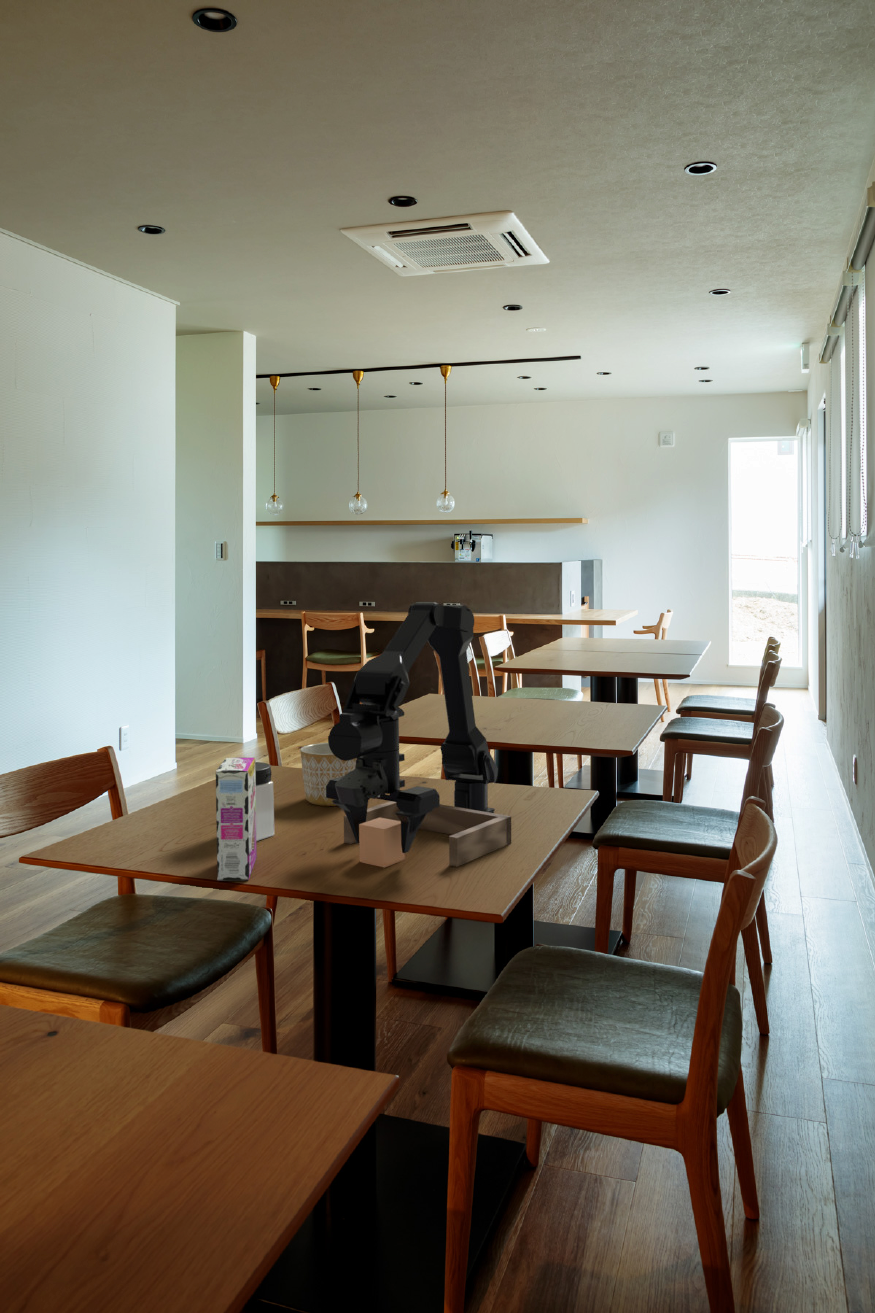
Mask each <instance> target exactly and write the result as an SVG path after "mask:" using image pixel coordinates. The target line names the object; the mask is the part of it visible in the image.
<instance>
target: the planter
mask: <svg viewBox="0 0 875 1313" xmlns="http://www.w3.org/2000/svg"><path fill="white" fill-rule="evenodd" d="M299 753H300V760H301V761H300V762H301V769H302V777H303V786H304V796H305V798H306V801H307V802H308V803H310V804H313V805H316V806H321V807H339V806H338V805H336V804H333V803H332V800H335V799H330V798H326V786H327V784H328V782H329V780H331V779H335V778H338V777H342V776H345V775H346V774H347V773H349V772H350V771H353V770H354V769H355V767H356V760H357V758H355V759H352V760H348V761H344V760H341V759H339V758H337V757H336V756H335V755H334V754H333V753H332V751H331V750H330V747H329V744H328V742H320V743H313V744H312V743H311V744H308V745H304V746H301V748H300V749H299Z"/></svg>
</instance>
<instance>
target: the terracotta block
mask: <svg viewBox="0 0 875 1313" xmlns="http://www.w3.org/2000/svg"><path fill="white" fill-rule="evenodd" d="M404 860H406V853H402V847H401V821H396V820H390V819H385V818H377V819H374V820H371V821H368V822H365V823H362V824H359V862H360V863H361V864H362V863H364V864H368V865H372V866H377V867H380V868H386V867H389V866H392V865H395V864H396V863H400V862H402V861H404Z"/></svg>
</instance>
